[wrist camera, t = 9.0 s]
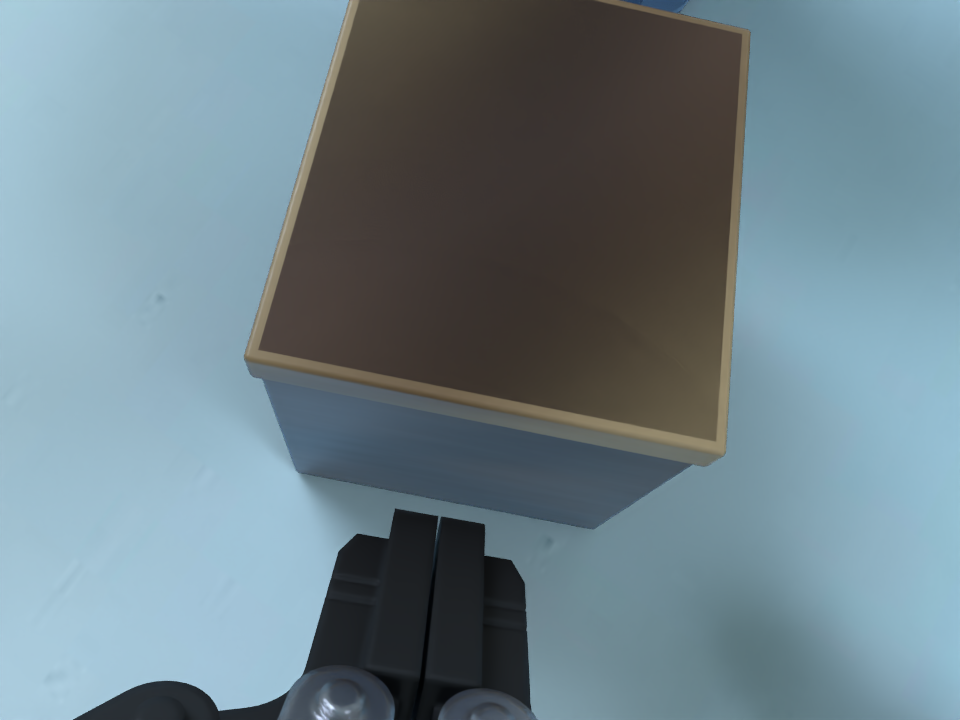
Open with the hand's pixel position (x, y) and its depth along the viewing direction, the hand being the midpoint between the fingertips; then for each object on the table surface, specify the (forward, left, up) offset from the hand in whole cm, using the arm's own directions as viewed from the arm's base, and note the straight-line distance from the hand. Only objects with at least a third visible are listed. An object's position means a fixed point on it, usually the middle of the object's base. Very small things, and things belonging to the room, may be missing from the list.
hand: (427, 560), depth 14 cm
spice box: (0, +6, -5) cm, 8 cm away
